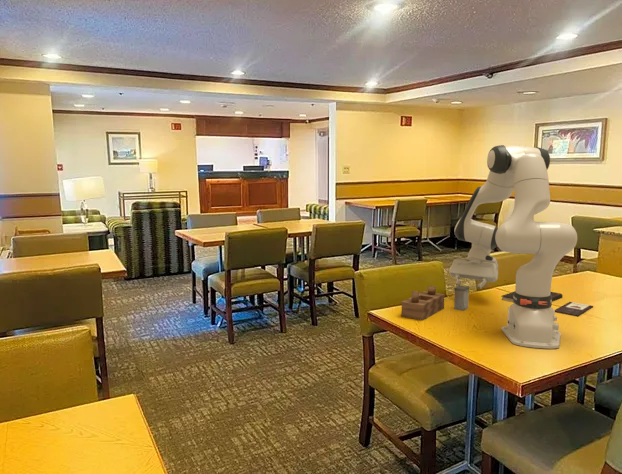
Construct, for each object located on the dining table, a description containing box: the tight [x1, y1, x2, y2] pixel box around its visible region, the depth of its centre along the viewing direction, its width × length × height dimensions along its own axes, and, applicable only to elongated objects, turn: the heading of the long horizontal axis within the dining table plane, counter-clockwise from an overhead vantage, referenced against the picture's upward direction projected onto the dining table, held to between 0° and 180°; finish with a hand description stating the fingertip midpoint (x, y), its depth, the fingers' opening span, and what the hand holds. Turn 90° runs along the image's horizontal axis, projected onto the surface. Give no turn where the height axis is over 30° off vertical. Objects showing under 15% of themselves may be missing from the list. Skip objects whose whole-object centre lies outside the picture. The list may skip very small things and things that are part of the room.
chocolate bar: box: [554, 301, 594, 318], centre depth 191 cm, size 9×1×18 cm
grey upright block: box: [453, 284, 470, 312], centre depth 194 cm, size 5×4×9 cm
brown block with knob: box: [401, 285, 445, 321], centre depth 190 cm, size 20×9×10 cm, turn 141°
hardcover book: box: [500, 291, 564, 303], centre depth 208 cm, size 16×23×2 cm
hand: (468, 286), depth 201 cm, fingers open, 8 cm apart
